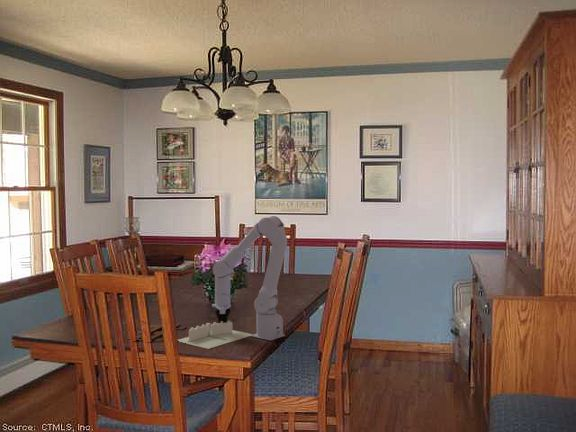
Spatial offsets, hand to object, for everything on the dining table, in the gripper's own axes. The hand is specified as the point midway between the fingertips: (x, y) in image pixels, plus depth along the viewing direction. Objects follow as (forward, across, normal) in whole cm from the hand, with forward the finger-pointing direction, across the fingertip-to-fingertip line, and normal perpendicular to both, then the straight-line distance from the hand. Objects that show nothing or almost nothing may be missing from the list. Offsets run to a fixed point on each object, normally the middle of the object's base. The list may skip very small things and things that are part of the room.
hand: (222, 328), depth 218 cm
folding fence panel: (+1, +2, 0) cm, 3 cm away
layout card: (+2, +7, -3) cm, 7 cm away
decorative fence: (+3, -3, -25) cm, 25 cm away
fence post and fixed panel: (+2, +7, -8) cm, 11 cm away
